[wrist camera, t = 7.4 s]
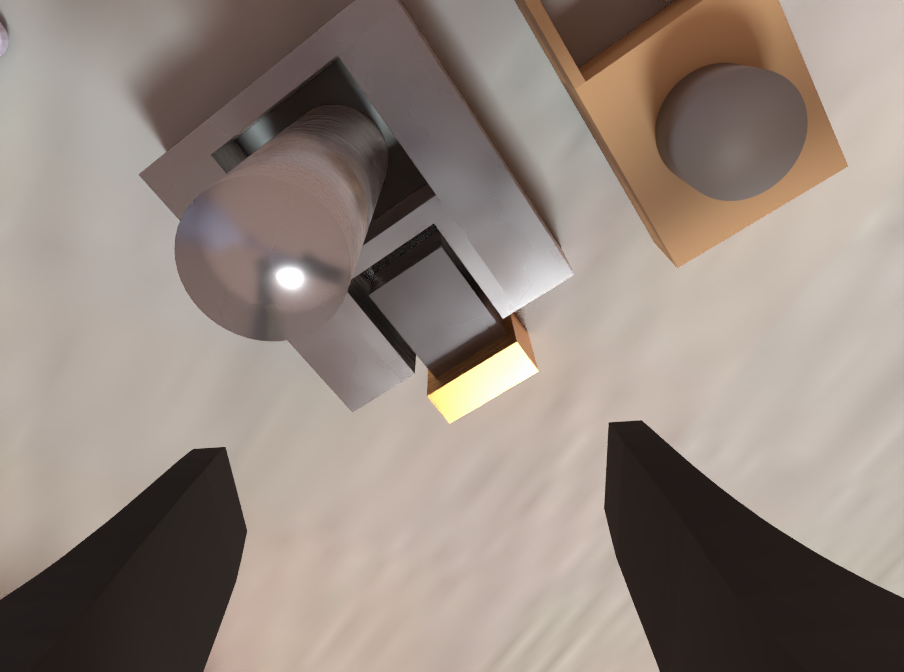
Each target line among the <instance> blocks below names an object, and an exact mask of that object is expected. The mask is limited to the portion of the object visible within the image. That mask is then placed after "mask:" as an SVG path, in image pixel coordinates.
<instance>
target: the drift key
mask: <svg viewBox="0 0 904 672" xmlns="http://www.w3.org/2000/svg"><path fill="white" fill-rule="evenodd" d="M369 297H370V298H371V299H372V300H373V301H374V303H375V304H376V305H377V306H378V308H379V309H380V310H381V311H382V313H383V314H384V315H385V316H386V318H387V319H388V320H389V321H390V322H391V324H392V325H393V326H394V327H395V329H396V330H397V331H398V332H399V334H400V335H401V336H402V337H403V339H404V340H405V341H406V342H407V343H408V345H409V346H410V347H411V348H412V350H413V351H414V352H415V353H416V355H417V356H418V357H419V358H420V359H421V361H422V362H423V363H424V364H425V366H426V367H427V368H428V387H427V397H428V398H429V399H430V400H431V401H432V403H433V404H434V405H435V406H436V407H437V409H438V410H439V411H440V412H441V413H442V415H443V416H444V417H445V418H446V419H447V421H448V422H449V423H451V422H453V421H455V420H456V419H458V418H460V417H462V416H463V415H465V414H467V413H468V412H470V411H472V410H473V409H475V408H477V407H479V406H480V405H482V404H484V403H485V402H487V401H489V400H490V399H492V398H494V397H496V396H497V395H499V394H501V393H502V392H504V391H506V390H507V389H509V388H511V387H513V386H514V385H516V384H518V383H519V382H521V381H523V380H524V379H526V378H528V377H530V376H531V375H533V374H535V373H536V372H538V368H537V365H536V361H535V357H534V353H533V350H532V346H531V342H530V339H529V335H528V332H527V331H526V330H525V328H524V327H523V325H522V324H521V323H520V321H519V320H518V318H517V317H516V316H515V314H514V313H512V314H510V315H509V316H507V317H505V318H504V319H503V318H502V316H501V315H500V314H499V312H498V311H497V310H496V308H495V307H494V305H493V304H492V303H491V301H490V300H489V298H488V297H487V296H486V294H485V293H484V292H483V290H482V289H481V287H480V286H479V285H478V283H477V282H476V281H475V279H474V278H473V276H472V275H471V274H470V272H469V271H468V269H467V268H466V267H465V265H464V264H463V263H462V261H461V260H460V258H459V257H458V256H457V254H456V253H455V252H454V250H453V249H452V247H451V246H450V245H449V243H448V242H447V240H446V239H445V238H444V236H443V235H442V234H441V232H440V231H439V230H438V231H436V232H435V233H433V234H432V235H430V236H429V237H427V238H426V239H424V240H423V241H421V242H420V243H418V244H417V245H415V246H414V247H412V248H411V249H409V250H408V251H406V252H405V253H404V254H402V255H401V256H399V257H398V258H396V259H395V260H393V261H392V262H390V263H389V264H387V265H386V266H384V267H383V268H381V269H380V270H378V271H377V272H375V273H374V276H373V280H372V284H371V287H370V291H369Z"/></svg>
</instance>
